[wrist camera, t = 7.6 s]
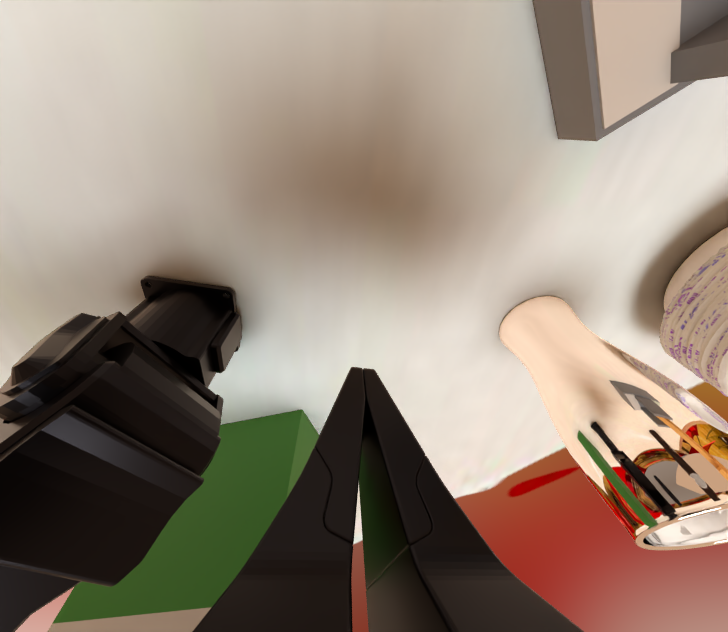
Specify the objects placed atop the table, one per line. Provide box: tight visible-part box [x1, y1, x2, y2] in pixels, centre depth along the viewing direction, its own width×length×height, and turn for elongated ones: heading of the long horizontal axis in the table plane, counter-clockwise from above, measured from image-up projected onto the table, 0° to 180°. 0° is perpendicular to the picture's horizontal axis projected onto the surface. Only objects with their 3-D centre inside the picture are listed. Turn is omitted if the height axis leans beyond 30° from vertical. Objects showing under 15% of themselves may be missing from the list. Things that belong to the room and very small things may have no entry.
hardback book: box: [48, 410, 319, 632], centre depth 23 cm, size 18×7×24 cm, turn 104°
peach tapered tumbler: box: [499, 296, 728, 550], centre depth 18 cm, size 7×7×15 cm
